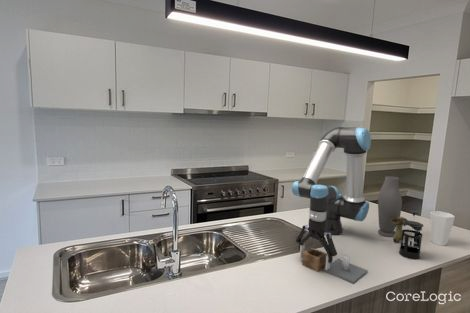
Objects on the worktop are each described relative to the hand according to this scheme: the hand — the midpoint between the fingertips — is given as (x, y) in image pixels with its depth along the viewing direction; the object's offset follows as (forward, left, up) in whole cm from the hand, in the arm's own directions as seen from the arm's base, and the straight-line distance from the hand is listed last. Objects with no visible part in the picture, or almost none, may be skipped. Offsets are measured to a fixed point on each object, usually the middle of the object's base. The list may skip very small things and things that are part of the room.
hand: (314, 263), depth 135 cm
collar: (0, 0, -1) cm, 1 cm away
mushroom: (+16, +60, -1) cm, 62 cm away
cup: (+32, +78, -1) cm, 85 cm away
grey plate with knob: (+12, +6, -1) cm, 14 cm away
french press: (+26, +48, -1) cm, 55 cm away
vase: (+7, +69, -1) cm, 70 cm away
